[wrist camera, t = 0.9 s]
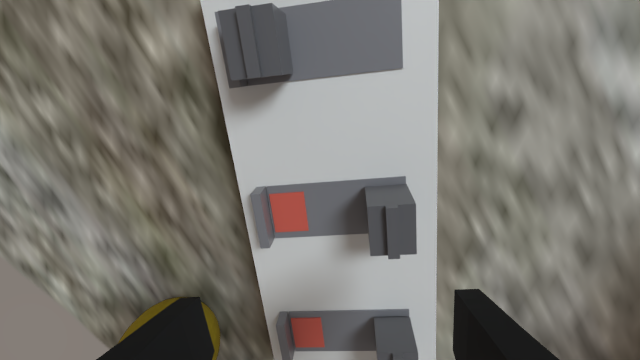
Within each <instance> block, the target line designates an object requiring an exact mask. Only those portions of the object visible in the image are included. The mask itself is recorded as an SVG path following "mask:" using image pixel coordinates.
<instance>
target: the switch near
mask: <svg viewBox="0 0 640 360" xmlns="http://www.w3.org/2000/svg"><path fill="white" fill-rule="evenodd" d="M218 15H219V20H220V25H221V30H222V35H223V41H224V46H225V51H226V56H227V62H228V67H229V72H230V77H231V81H233V80H243V79H253V78H261V77H270V76H278V75H287V74H293V67H292V60H291V52H290V45H289V37H288V29H287V22H286V14H285V13H284V12H282V11H281V10H280V9H279V8H278V7H276V6H275V5H274V4H273V3H268V4H261V5H254V6H251V5H249V4H247V5H241V6H235V8H234V9H227V10H220V11H218Z"/></svg>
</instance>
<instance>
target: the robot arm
mask: <svg viewBox="0 0 640 360" xmlns="http://www.w3.org/2000/svg"><path fill="white" fill-rule="evenodd" d="M214 352H215V350H214V346H213V343H212V339H211V336H210V332H209V329H208V325H207V321H206V318H205V314H204V311H203V307H202V304H201V300H200V297H188V298H179V299H178V300H176V301H175V302H173V303H172V304H170V305H169V306H168V307H166V308H165V309H163V310H162V311H161V312H159V313H158V314H157V315H155V316H154V317H153V318H151V319H150V320H149V321H147V322H146V323H145V324H143V325H142V326H141V327H139V328H138V329H137V330H136V331H134V332H133V333H132V334H130V335H129V336H128V337H126V338H125V339H124V340H122V341H121V342H120V343H118V344H117V345H116V346H114V347H113V348H112V349H110V350H109V351H108V352H106V353H105V354H104V355H102V356H101V357H99V358H98V359H97V360H212V358H213V355H214ZM453 352H454V355H455V359H456V360H559V359H558V358H557V357H556V356H554V355H553V354H552V353H551V352H550V351H548V350H547V349H546V348H545V347H544V346H543V345H541V344H540V343H539V342H538V341H537V340H535V339H534V338H533V337H532V336H531V335H530V334H529V333H527V332H526V331H525V330H524V329H523V328H522V327H521V326H519V325H518V324H517V323H516V322H515V321H514V320H513V319H512V318H511V317H509V316H508V315H507V314H506V313H505V312H504V311H503V310H502V309H501V308H499V307H498V306H497V305H496V304H495V303H494V302H493V301H492V300H491V299H489V298H488V297H487V296H486V295H485V294H484V293H483V292H482V291H481V290H479V289H466V290H455V299H454V331H453Z"/></svg>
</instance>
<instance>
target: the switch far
mask: <svg viewBox="0 0 640 360" xmlns="http://www.w3.org/2000/svg"><path fill="white" fill-rule="evenodd" d="M374 326H375V340H376V354H377V360H418V350H417V346H416V341H415V337H414V333H413V328H412V324H411V320H410V317H374Z"/></svg>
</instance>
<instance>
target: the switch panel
mask: <svg viewBox="0 0 640 360" xmlns="http://www.w3.org/2000/svg"><path fill="white" fill-rule="evenodd" d="M200 1H201V6H202V11H203V16H204V21H205V26H206V30H207V35H208V40H209V45H210V50H211V55H212V60H213V64H214V69H215V74H216V79H217V84H218V89H219V94H220V98H221V103H222V108H223V113H224V118H225V123H226V128H227V132H228V137H229V142H230V147H231V152H232V157H233V162H234V166H235V171H236V176H237V181H238V186H239V191H240V196H241V200H242V205H243V210H244V215H245V220H246V225H247V230H248V234H249V239H250V244H251V249H252V254H253V259H254V264H255V268H256V273H257V278H258V283H259V288H260V293H261V298H262V302H263V307H264V312H265V317H266V322H267V327H268V332H269V336H270V341H271V346H272V351H273V356H274V360H377V354H376V340H375V326H374V317H410V320H411V324H412V328H413V333H414V337H415V341H416V346H417V350H418V360H436V264H437V144H438V24H439V0H200ZM268 3H273V4H274V5H275V6H276V7H278V8H279V9H280V10H281V11H282V12H284V13H285V14H286V22H287V29H288V37H289V45H290V52H291V60H292V67H293V74H287V75H278V76H270V77H261V78H253V79H243V80H233V81H231V77H230V72H229V67H228V62H227V56H226V51H225V46H224V41H223V35H222V30H221V25H220V20H219V15H218V11H220V10H227V9H234V8H235V6H241V5H247V4H249V5H251V6H254V5H261V4H268ZM397 184H407V186H408V188H409V190H410V192H411V194H412V196H413V198H414V201H415V203H416V236H417V254H411V255H400V259H388V255H387V256H370V247H369V236H368V225H367V210H366V196H365V187H369V186H383V185H397Z"/></svg>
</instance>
